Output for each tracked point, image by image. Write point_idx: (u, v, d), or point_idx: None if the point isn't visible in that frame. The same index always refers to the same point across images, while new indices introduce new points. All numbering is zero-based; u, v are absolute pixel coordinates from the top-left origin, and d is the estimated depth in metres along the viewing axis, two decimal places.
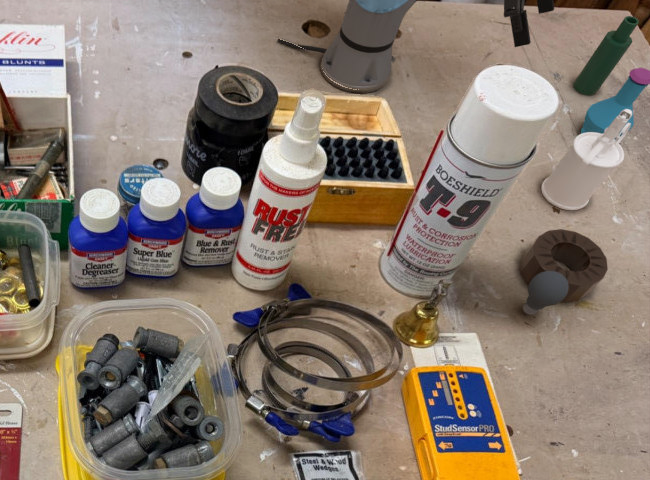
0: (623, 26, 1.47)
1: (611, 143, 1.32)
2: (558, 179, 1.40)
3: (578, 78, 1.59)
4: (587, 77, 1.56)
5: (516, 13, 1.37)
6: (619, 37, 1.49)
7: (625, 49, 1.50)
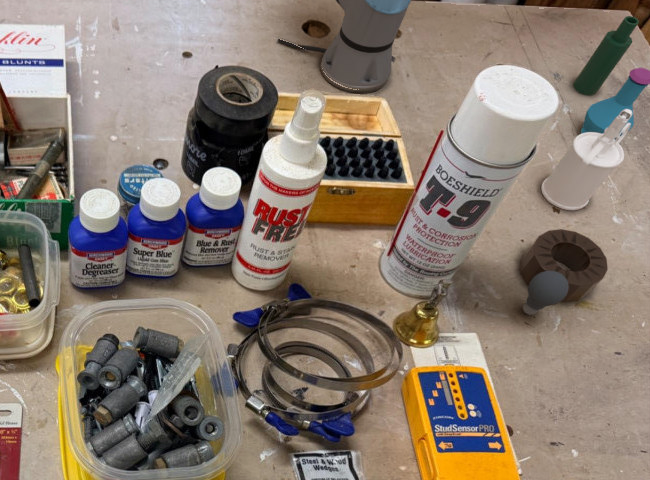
0: (623, 26, 1.47)
1: (611, 143, 1.32)
2: (558, 179, 1.40)
3: (578, 78, 1.59)
4: (587, 77, 1.56)
5: None
6: (619, 37, 1.49)
7: (625, 49, 1.50)
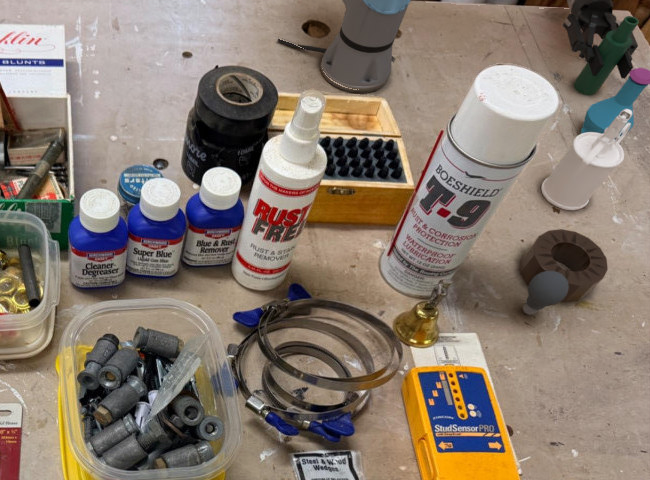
0: (623, 26, 1.47)
1: (611, 143, 1.32)
2: (558, 179, 1.40)
3: (578, 78, 1.59)
4: (587, 77, 1.56)
5: (630, 55, 1.55)
6: (619, 37, 1.49)
7: (625, 49, 1.50)
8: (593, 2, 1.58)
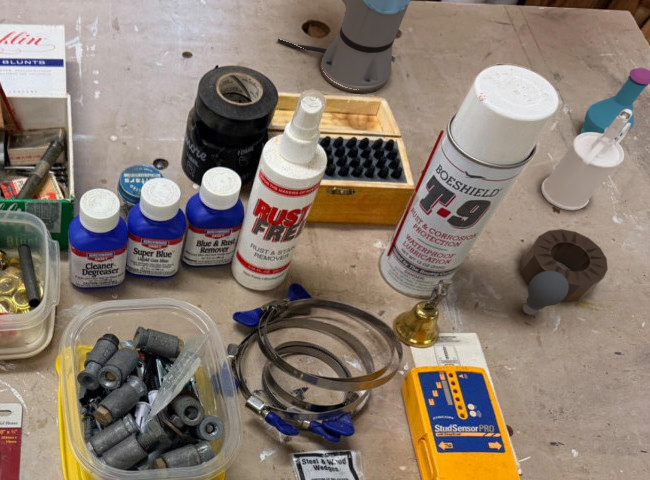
0: None
1: (611, 143, 1.32)
2: (558, 179, 1.40)
3: None
4: None
5: None
6: None
7: None
8: None
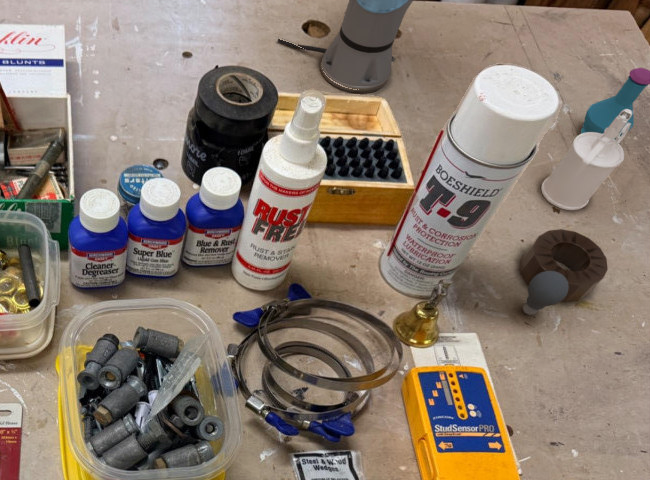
0: None
1: (611, 143, 1.32)
2: (558, 179, 1.40)
3: None
4: None
5: None
6: None
7: None
8: None
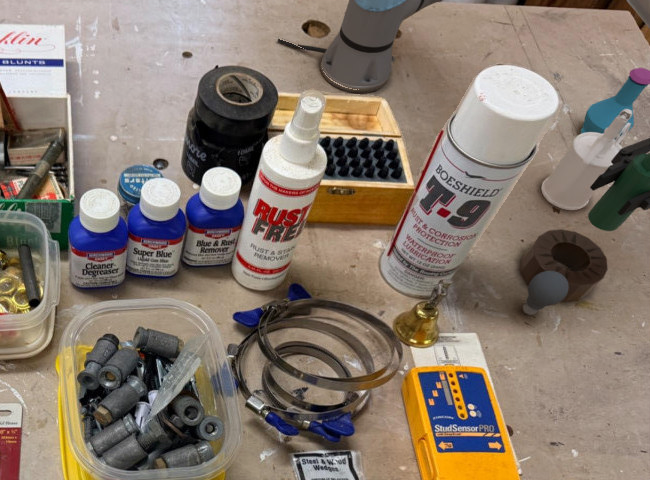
0: None
1: (611, 143, 1.32)
2: (558, 179, 1.40)
3: None
4: (601, 199, 1.19)
5: None
6: (646, 160, 1.11)
7: (643, 179, 1.11)
8: None
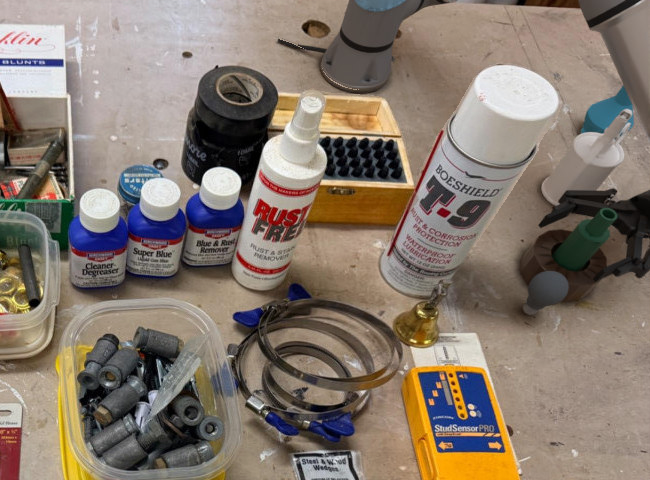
0: (596, 214, 1.22)
1: (611, 143, 1.32)
2: (558, 179, 1.40)
3: None
4: (552, 256, 1.32)
5: (640, 277, 1.25)
6: (589, 225, 1.23)
7: (587, 243, 1.24)
8: (644, 198, 1.28)
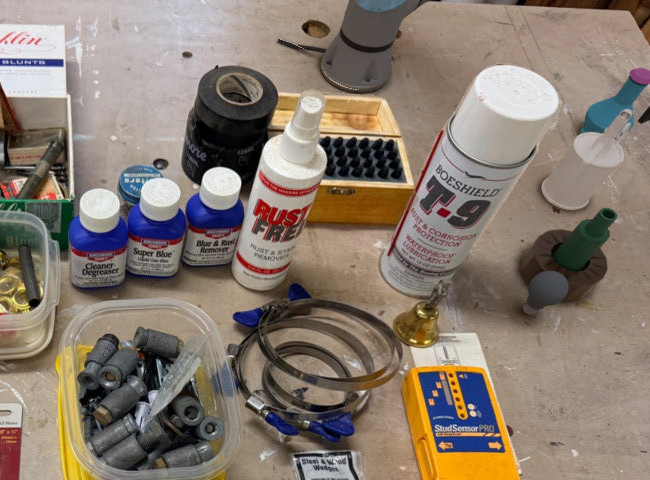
0: (596, 214, 1.22)
1: (611, 143, 1.32)
2: (558, 179, 1.40)
3: None
4: (552, 256, 1.32)
5: None
6: (589, 225, 1.23)
7: (587, 243, 1.24)
8: None
